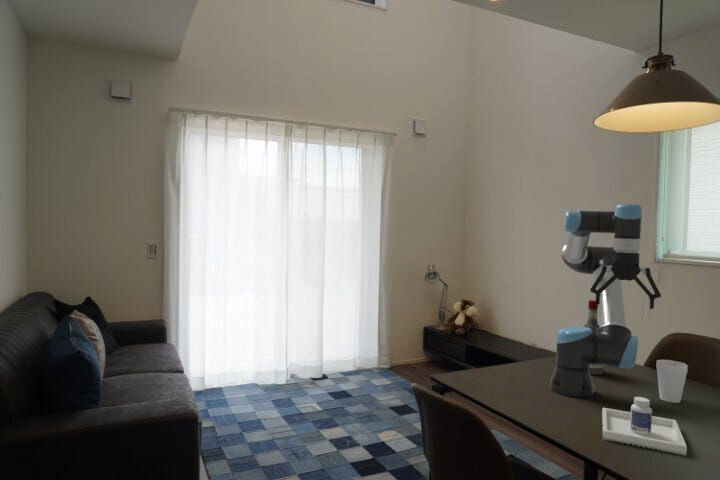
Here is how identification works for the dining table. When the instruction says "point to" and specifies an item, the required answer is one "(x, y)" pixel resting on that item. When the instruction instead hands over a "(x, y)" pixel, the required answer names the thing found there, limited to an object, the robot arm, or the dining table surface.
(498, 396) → the dining table surface
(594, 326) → the liquor
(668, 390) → the foam cup
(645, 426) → the pill bottle
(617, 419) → the tray
